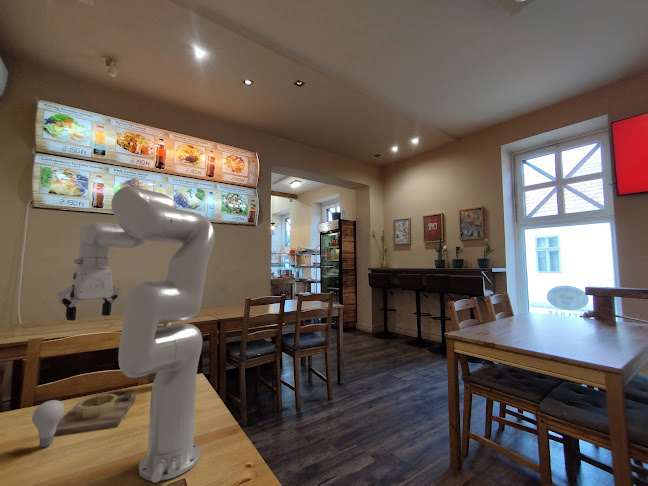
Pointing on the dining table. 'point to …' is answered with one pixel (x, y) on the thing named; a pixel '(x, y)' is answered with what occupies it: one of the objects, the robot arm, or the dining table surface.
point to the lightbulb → (48, 420)
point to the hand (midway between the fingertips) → (89, 317)
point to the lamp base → (107, 421)
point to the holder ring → (96, 406)
